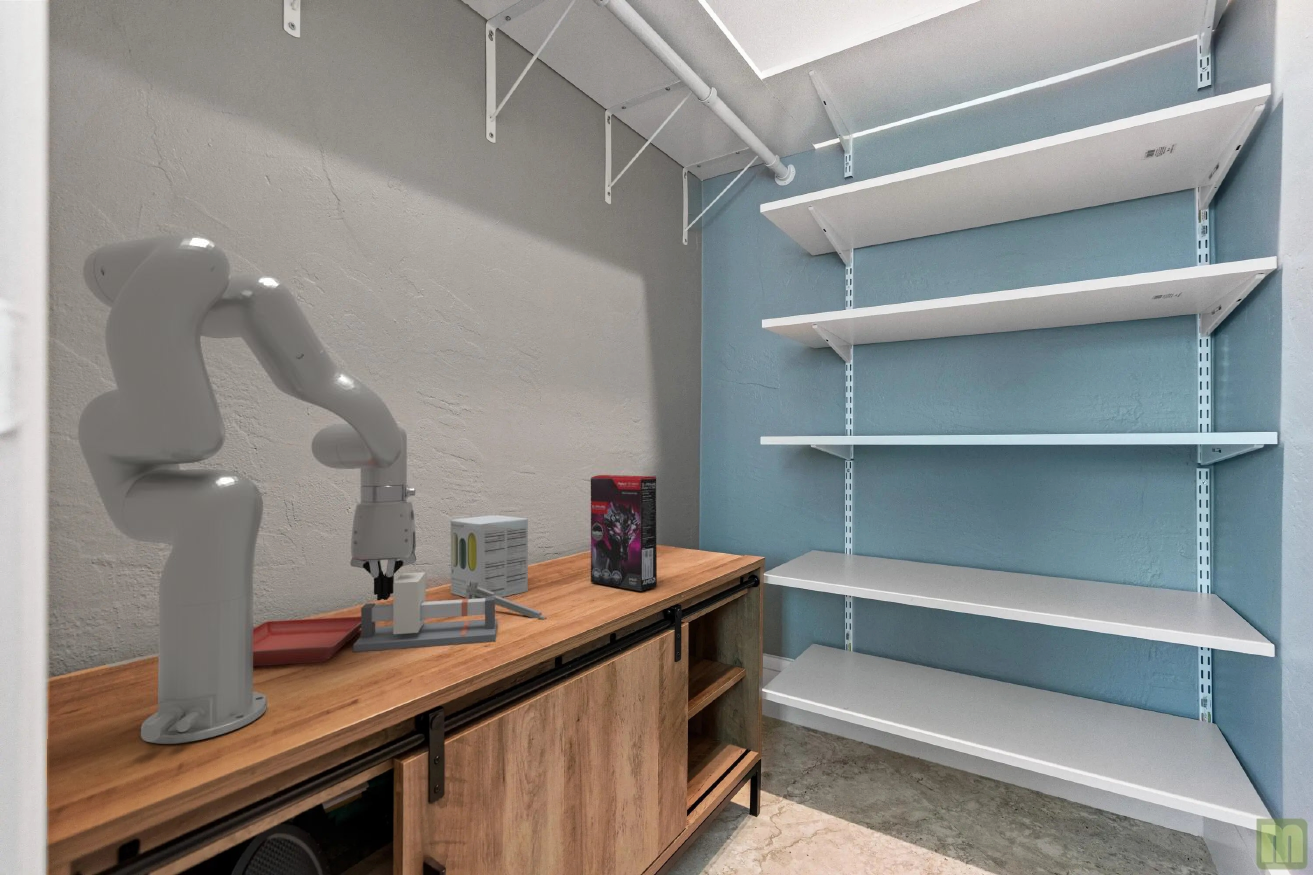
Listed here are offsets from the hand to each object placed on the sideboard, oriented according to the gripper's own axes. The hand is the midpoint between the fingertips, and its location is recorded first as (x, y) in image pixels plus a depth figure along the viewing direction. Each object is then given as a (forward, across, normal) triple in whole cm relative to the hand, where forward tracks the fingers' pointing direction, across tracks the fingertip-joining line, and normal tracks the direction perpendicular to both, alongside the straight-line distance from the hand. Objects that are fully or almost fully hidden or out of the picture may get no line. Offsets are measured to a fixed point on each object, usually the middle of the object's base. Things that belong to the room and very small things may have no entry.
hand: (383, 598), depth 105 cm
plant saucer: (+8, +14, +1) cm, 16 cm away
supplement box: (+8, -17, -32) cm, 37 cm away
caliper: (+8, -21, -13) cm, 26 cm away
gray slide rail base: (+8, -8, 0) cm, 11 cm away
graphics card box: (+8, -49, -30) cm, 58 cm away
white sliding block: (+5, -4, 0) cm, 7 cm away
